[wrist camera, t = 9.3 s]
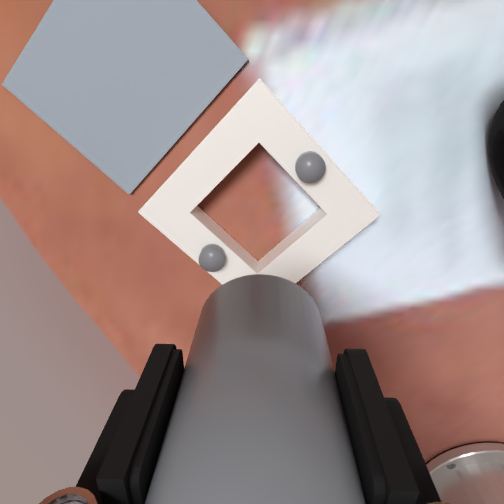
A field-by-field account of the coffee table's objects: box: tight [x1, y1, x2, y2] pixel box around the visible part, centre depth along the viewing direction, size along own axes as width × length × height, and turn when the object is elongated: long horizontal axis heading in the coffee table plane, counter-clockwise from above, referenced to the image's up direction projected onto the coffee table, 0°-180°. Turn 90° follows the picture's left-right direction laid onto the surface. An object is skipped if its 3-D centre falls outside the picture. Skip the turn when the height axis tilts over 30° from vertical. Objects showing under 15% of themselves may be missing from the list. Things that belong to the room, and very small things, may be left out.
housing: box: [138, 78, 380, 285], centre depth 24 cm, size 12×12×3 cm
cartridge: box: [145, 274, 366, 504], centre depth 9 cm, size 5×5×10 cm
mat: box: [2, 0, 248, 195], centre depth 22 cm, size 10×12×1 cm
